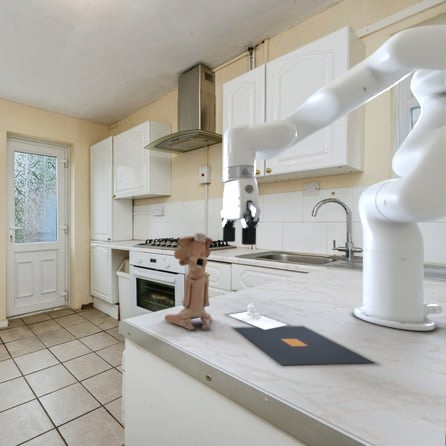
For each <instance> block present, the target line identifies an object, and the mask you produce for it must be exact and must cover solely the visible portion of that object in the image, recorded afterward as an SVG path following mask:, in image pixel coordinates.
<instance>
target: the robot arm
mask: <svg viewBox="0 0 446 446" xmlns="http://www.w3.org/2000/svg"><path fill="white" fill-rule="evenodd" d="M413 73H414V74H413ZM412 74H413V75H412ZM411 75H412V78H411V81H410V89H411V90H410V91H411V92H412V95H413V96H414V97H415V98H416V99H417V101H418V103H419V105H420V108H421V112H420V116H419V118H418V120H417V121H416V122H415V124H414V125H413V128H412V129H411V130H410V131H409V133H408V135H407V136H406V138H405V139H404V141H403V142H402V143H401V145H400V146H399V148H398V149H397V150H396V152H395V154H394V156H393V158H392V161H391V168H392V171H393V172H394V173H395V174H396V175H397V176H398V177H396V178H392V179H387V180H382V181H378V182H376V183H374V184H371V185H370V186H368V187H367V188H366V189H364V191H363V192H362V193H361V195H360V196H359V199H358V203H357V205H358V206H357V207H358V214H359V218H360V219H359V220H360V222H361V227H362V228H361V230H362V306H360V307H355V308H354V309H353V315H354V316H355V317H357V318H359V319H360V320H364V321H366V322H368V323H372V324H376V325H379V326H384V327H389V328H393V329H399V330H405V331H406V330H407V331H417V332H422V331H423V332H427V331H433V330H435V328H436V323H435V321H433V320H432V319H430V318H428V315H429V314H432V315H433V314H435V315H438V314H439V315H440V314H442V313H443V307H441V306H440V305H439V304H428V303H426V302H424V298H425V297H424V292H425V291H424V285H425V284H424V283H425V282H424V281H425V279H424V275H425V274H424V271H425V270H424V267H425V266H424V260H425V259H424V258H425V257H424V255H425V254H424V252H425V243H424V237H423V234H422V231H421V228H420V227H419V224H418V223H429V222H430V223H431V222H435V221H439V220H442V219H444V218H446V24H435V25H434V24H431V25H421V26H414V27H410V28H409V27H408V28H405V29H403V30H400V31H398V32H396V33H395V34H393V35H392V36H391V37H389V38H388V39H387V40H386V41H385V42H384V43H383V44H381V45H380V46H379V47H378V48H377V49H376V50H375V51H374V52H373V53H372V54H370V55H368V57H366V58H365V59H363V60H362V61H360V62H359V63H357V64H356V65H354V66H353V67H351V68H350V69H348V70H346V71H345V72H343V73H341V75H339V76H337V77H336V78H334V79H332V80H331V81H329V82H328V83H326V84H325V85H323V86H321V87H320V88H319V89H318V90H316V91H314V93H313V94H311V95H310V96H309V97H308V98H306V100H305V101H304V102H303V103H302V104H300V106H298V107H297V108H296V109H294V110H293V112H291V113H290V114H288V115H287V116H286V117H284V118H283V119H273V120H269V121H264V122H261V123H255V124H237V125H233V126H230V127H228V128H227V129H225V132H224V134H223V163H222V164H223V167H222V168H223V170H222V172H223V173H222V176H223V177H222V183H223V184H224V185H223V195H222V210H221V211H220V215H221V222H222V224H221V226H222V242H223V243H235V242H236V226H235V225H236V222H237V221H241V223H242V226H243V227H241V245H243V246H255V245H257V228H258V223H259V221H260V215H261V213H262V209H261V207H260V198H259V197H260V195H259V187H258V180H257V179H256V178H257V159H259V160H262V161H268V160H272V159H274V158H276V157H278V156H280V155H281V154H282V153H284V152H286V151H288V150H289V149H291V148H292V147H294V146H296V145H297V144H299V143H300V142H302V141H304V140H305V139H307V138H308V137H310V136H312V135H314V134H316V133H317V132H320V131H321V130H323V129H325V128H326V127H327V128H328V127H329V126H331V125H333V123H335V122H337V121H338V120H340V119H342V118H344V117H345V116H347V115H348V114H350V113H351V112H353V111H355V110H356V109H358V108H359V107H361V106H363V105H364V104H367V102H369V101H371V100H372V99H374V98H376V97H377V96H379V95H381V94H382V93H384V92H385V91H388V90H389V89H391V88H392V87H394V86H395V85H397V84H399V82H402V81H403V80H404V79H406V78H407V77H409V76H411Z"/></svg>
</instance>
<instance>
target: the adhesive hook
mask: <svg viewBox="0 0 446 446" xmlns="http://www.w3.org/2000/svg"><path fill="white" fill-rule="evenodd" d="M256 307H257V305H255V303H252V302H251V303H249V304H248V305H247V307H246V308H247V311H245V312H238V313H231V314H228V316H229V317H232V318H234V319H237V320H239V321H242V322H244V323H247V324H250V325H252V326H253V327H259V328H262V329H264V330H266V329H271V328H276V327H287V326H288V323H284V322H281V321H279V320H275V319H273V318H270V317H266V316H264V315H261V313H260V312H257V310H258V309H257V308H256Z"/></svg>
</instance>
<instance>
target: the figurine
mask: <svg viewBox="0 0 446 446" xmlns="http://www.w3.org/2000/svg"><path fill="white" fill-rule="evenodd" d="M177 243H178V245H179V247H177V248H176V249H175V251H174V253H173V257H174V259H177V260H178V264H179V265H180V266H181V267H184V266H187V265H188V267H189V268H188V270H189V271H188V273H186V275H185V279H184V280H185V281H184V287H183V288H184V291H183V299H182V301H181V306H182V307H183V308H182V309H181V310H180V311H178V313H172V314H166V315H165V316H164V320H165V321H166V322H168V323H170V324H175V325H178V326H180V327H182V328H185V329H187V330H189V331H193V330H195V327H194V326H193V324H192V320H196V319H200V321H201V323H202V326H201V329H202V330H204V331H205V330H206V331H210V323H211V321H212V315H211V314H210V313H208V312H207V311H206V309H205V308H206V307H210V302H209V301H210V297H209V283H210V279H209V275H208V274H207V272H206V267H207V265H208V258H209V257H210V255H211V249H210V246H211V245H212V244H213V239H212V238H211V237H208V236H206V234H205V233H202V232H195V234H194V235H191V236H183V237H180V238H179V239H178V240H177Z"/></svg>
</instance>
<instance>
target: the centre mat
mask: <svg viewBox="0 0 446 446" xmlns="http://www.w3.org/2000/svg"><path fill="white" fill-rule="evenodd" d="M233 329H234V330H235V331H237V332H238V333H239V334H241V335H242V336H243V337H245V338H246V339H248V341H250V342H251V343H252V344H253V345H255V346H256V347H257V348H259V349H260V350H261V351H263V352H264V353H265V354H267V355H268V356H269V357H270V358H271V359H273V360H274V361H275V362H277V363H278V364H280V365H281V366H309V365H311V366H313V365H348V364H349V365H350V364H351V365H352V364H375V362H374V361H372V360H370V359H369V358H367V357H364V356H362V355H361V354H358V353H356V352H355V351H353V350H351V349H349V348H347V347H344V346H343V345H341V344H338V343H337V342H335V341H333V340H331V339H330V338H327V337H325V336H324V335H321V334H319V333H317V332H315V331H313V330H311V329H309V328H307V327H306V326H303V325H302V326H281V327H276V328H271V329H266V330H264V329H262V328H259V327H257V326H253V327H251V326H249V327H233Z"/></svg>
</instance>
